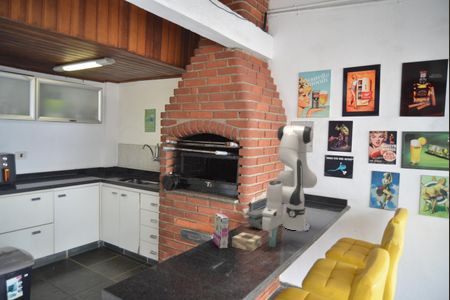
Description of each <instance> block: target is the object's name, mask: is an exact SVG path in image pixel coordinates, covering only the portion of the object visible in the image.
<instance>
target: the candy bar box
mask: <svg viewBox="0 0 450 300" xmlns="http://www.w3.org/2000/svg"><path fill="white" fill-rule="evenodd" d="M229 230H230V217H228V216H227V215H226V214H224V213H223V212H220V213H214V221H213V241H212V243H214V244H215V246H217V248H219V249H228V248H229Z"/></svg>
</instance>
